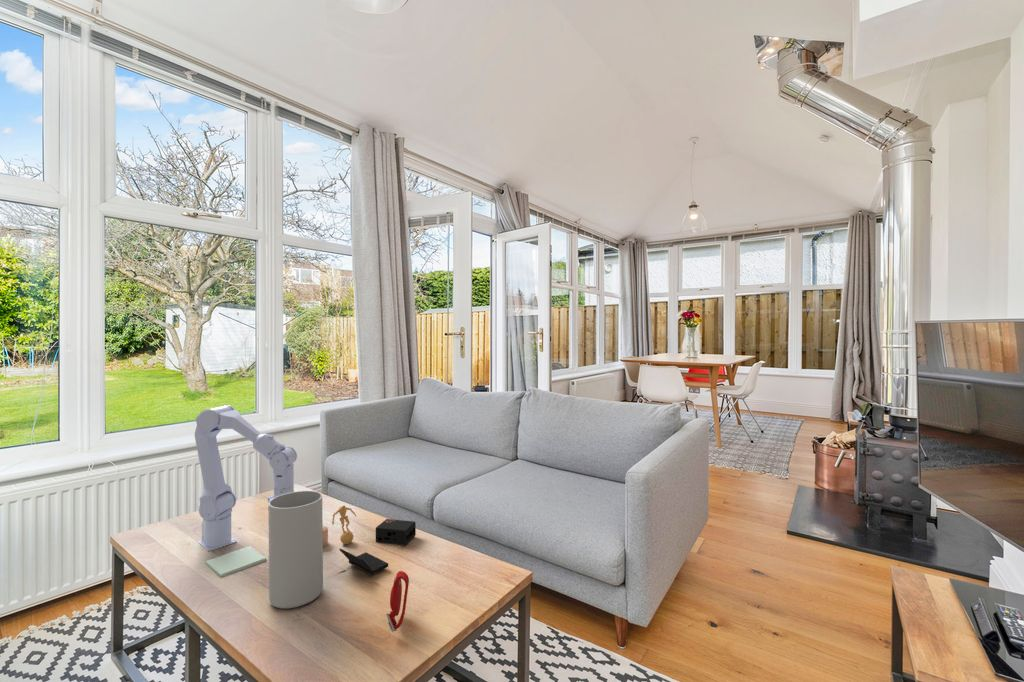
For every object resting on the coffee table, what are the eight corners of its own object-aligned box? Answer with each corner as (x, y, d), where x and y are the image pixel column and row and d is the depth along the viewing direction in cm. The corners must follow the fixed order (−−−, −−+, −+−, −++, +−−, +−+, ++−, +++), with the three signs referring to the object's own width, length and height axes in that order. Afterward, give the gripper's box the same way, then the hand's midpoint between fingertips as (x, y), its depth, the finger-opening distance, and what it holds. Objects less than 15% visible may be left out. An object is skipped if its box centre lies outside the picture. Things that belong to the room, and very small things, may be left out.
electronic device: (405, 546, 142) (405, 530, 142) (375, 542, 144) (375, 527, 144) (415, 536, 149) (415, 521, 149) (387, 533, 152) (386, 518, 152)
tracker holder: (393, 604, 110) (393, 565, 110) (411, 604, 111) (411, 564, 111) (383, 637, 98) (383, 593, 98) (404, 636, 99) (403, 592, 99)
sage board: (205, 564, 130) (205, 561, 130) (249, 549, 140) (249, 546, 140) (220, 578, 123) (220, 574, 123) (266, 560, 132) (266, 557, 132)
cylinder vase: (287, 616, 106) (286, 512, 106) (259, 600, 113) (258, 502, 112) (333, 590, 117) (332, 496, 116) (304, 577, 123) (303, 487, 123)
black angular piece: (393, 557, 130) (375, 538, 125) (380, 582, 125) (361, 563, 120) (364, 553, 135) (346, 535, 130) (351, 577, 130) (332, 558, 125)
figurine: (338, 550, 139) (337, 512, 139) (328, 544, 143) (328, 507, 143) (361, 540, 145) (361, 504, 145) (351, 535, 149) (351, 500, 149)
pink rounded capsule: (308, 545, 142) (308, 530, 142) (323, 540, 146) (323, 525, 146) (315, 550, 139) (315, 534, 139) (331, 544, 143) (331, 529, 143)
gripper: (258, 486, 143) (258, 528, 143) (285, 494, 135) (285, 538, 135) (279, 480, 149) (279, 520, 149) (306, 487, 141) (306, 530, 141)
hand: (283, 528), depth 142 cm, fingers closed on walnut block, 4 cm apart
